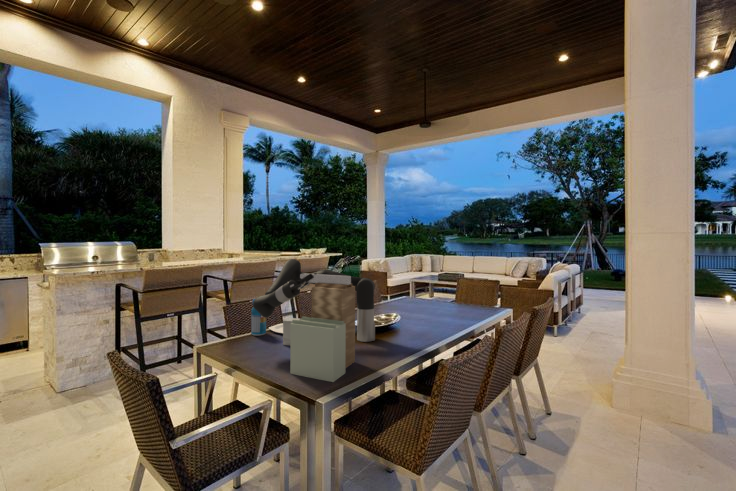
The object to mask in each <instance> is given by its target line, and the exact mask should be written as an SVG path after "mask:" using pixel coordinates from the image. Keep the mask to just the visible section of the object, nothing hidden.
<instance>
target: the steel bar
mask: <svg viewBox="0 0 736 491" xmlns="http://www.w3.org/2000/svg"><path fill="white" fill-rule="evenodd" d="M306 273H307V272H304V274H300V278H301V279H302V278H303V277H306V276H307V275H309V274H306ZM312 276H313V278H312V279H311V280H309V281H306V282H310V283H326V284H340V285H349V284H351V275H348V276H342V275H324V274H312Z"/></svg>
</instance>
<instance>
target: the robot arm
mask: <svg viewBox="0 0 736 491" xmlns="http://www.w3.org/2000/svg"><path fill="white" fill-rule="evenodd" d="M304 273H306V274H309V275H307V276H306V277H303V278H302V279H301V278H300V274H304ZM312 274H324V275H342V276H349V275H348V274H345V273H343V272H338V271H333V270H329V269H322V270H318V271H314V272H310V273H309V272H303V271H302V264H301V261H299V260H298V259H296V258H295V259H294V258H290V259H288V260H286V261H285V263H284V265H283V266H282V268H281V270H280V272H279V273H278V275H277V277H276V279H275V280H274V282H273V283H272V284H271V285H270V287H269V288H268V289H267V290H266V292H265V293H264V295H261V296H258V297H256V298H254V299H255V300H254V302H253V301H252V308H253V307H254V308H255V309H256V310H257V311H258V312H259V313H260V314H261V315H262V316H263V317H266V318H269V317H270V316H272V315H273V313H274V312H275V311H276V310H275V309H276V308H278V307H280V306H281V305H282V304H284V303H286V302H289V301H290V300H292V299H294V298H296V297H297V296H299V295H300V293H301V290H302V289H305V287H307V286H310V285H315V283H310V282H306V281H309V280H311V279H312V278H313V276H312ZM350 276H351V275H350ZM351 283H352V286H355V292H356V306H357V307H356V328H357V329H356V340H357V341H358V342H365V343H368V342H372V341H375V340H376V323H375V301H374V300H375V299H374V298H375V296H374V293H375V291H374V290H375V287H376V286H375V282H374V281H373V280H372V279H371V278H368V277H359V276H351Z"/></svg>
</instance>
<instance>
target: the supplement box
mask: <svg viewBox="0 0 736 491" xmlns="http://www.w3.org/2000/svg"><path fill="white" fill-rule="evenodd" d="M292 320H302V318H298V317H297V318H296V317H289V318H286V319H285V320H283V321H282V323H283V334H282V345H283V346H290V324H291V323H292Z"/></svg>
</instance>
